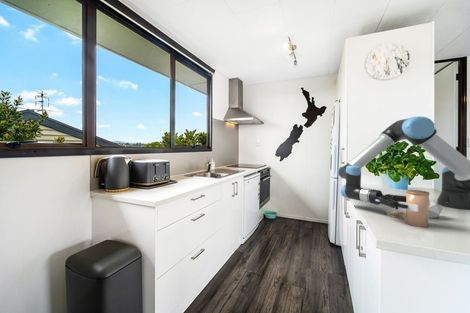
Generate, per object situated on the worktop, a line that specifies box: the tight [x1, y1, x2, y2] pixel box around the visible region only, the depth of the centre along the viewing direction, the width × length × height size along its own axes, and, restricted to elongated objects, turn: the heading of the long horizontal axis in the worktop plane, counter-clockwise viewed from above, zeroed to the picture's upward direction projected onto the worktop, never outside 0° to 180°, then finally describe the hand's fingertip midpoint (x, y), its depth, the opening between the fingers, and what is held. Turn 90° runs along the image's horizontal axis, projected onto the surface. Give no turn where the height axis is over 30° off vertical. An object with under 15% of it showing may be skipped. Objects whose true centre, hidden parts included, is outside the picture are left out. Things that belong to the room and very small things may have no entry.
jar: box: [405, 189, 430, 228], centre depth 89 cm, size 8×8×15 cm
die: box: [428, 200, 443, 219], centre depth 97 cm, size 8×9×10 cm
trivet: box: [385, 210, 406, 220], centre depth 100 cm, size 11×11×1 cm
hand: (424, 206), depth 87 cm, fingers open, 13 cm apart
